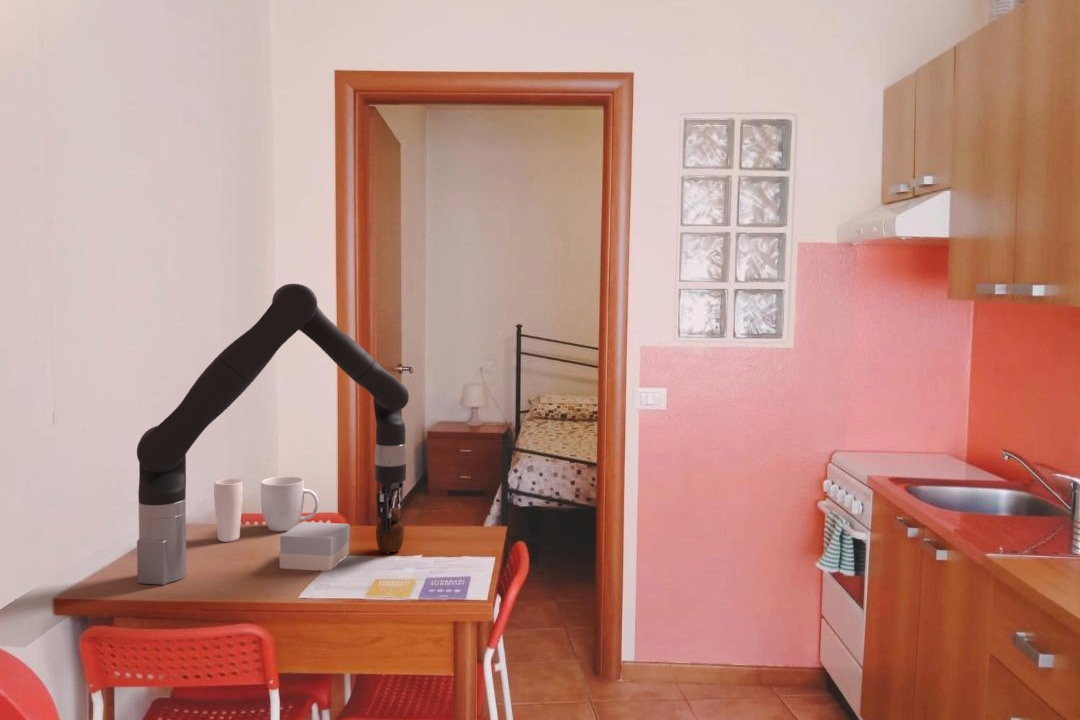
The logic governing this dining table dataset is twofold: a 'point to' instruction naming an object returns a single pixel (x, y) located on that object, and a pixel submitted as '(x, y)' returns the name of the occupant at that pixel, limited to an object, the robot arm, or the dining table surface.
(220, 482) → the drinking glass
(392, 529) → the wooden figurine
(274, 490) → the mug
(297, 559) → the tower bottom slab
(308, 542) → the tower top slab
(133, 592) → the dining table surface
